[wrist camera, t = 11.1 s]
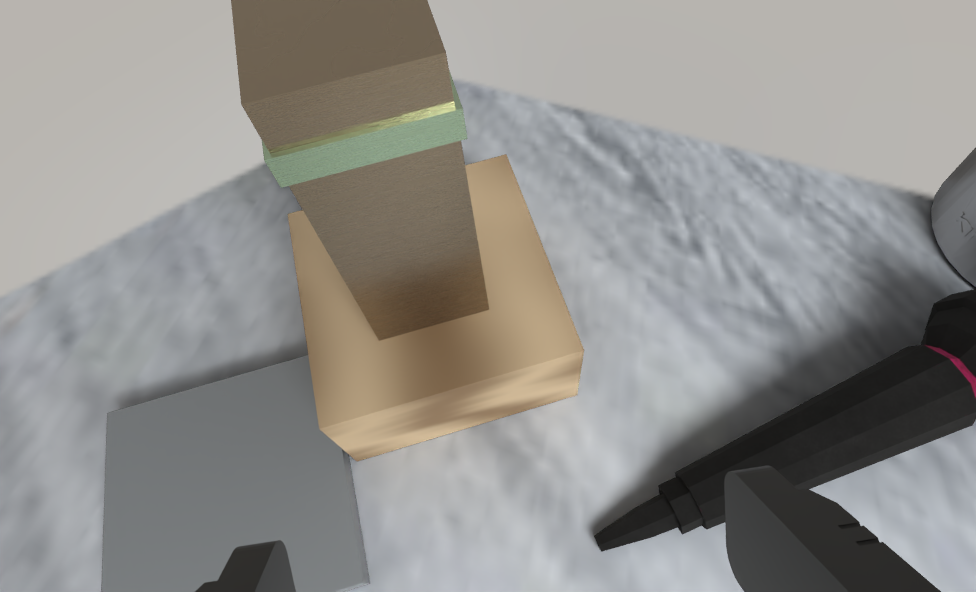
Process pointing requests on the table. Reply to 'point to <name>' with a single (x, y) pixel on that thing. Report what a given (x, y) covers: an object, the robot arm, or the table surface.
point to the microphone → (833, 428)
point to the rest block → (441, 337)
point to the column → (368, 149)
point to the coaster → (228, 486)
